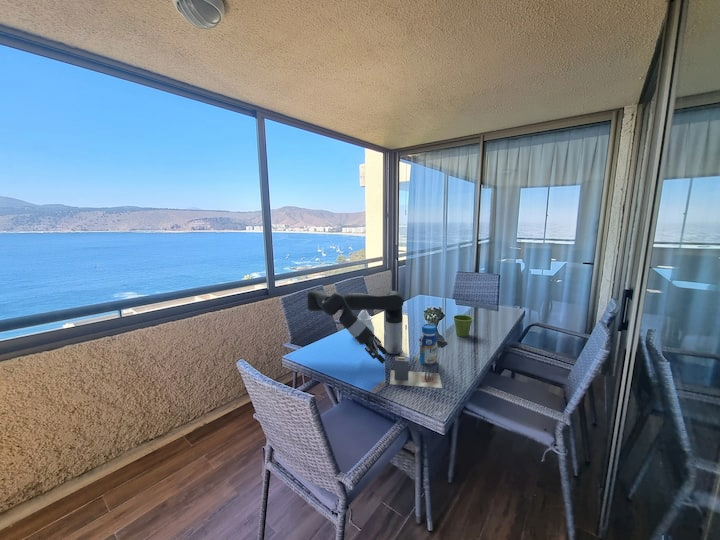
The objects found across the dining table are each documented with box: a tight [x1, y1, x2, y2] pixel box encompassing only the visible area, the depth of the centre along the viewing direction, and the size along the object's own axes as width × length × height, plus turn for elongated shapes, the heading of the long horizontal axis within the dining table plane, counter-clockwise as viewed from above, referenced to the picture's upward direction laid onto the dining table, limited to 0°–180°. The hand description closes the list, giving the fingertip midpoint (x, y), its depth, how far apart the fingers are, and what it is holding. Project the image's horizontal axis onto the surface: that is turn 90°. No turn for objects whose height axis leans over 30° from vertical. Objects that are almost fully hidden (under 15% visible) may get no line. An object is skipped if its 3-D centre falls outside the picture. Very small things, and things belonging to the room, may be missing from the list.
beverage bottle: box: [419, 323, 438, 366], centre depth 142 cm, size 8×8×20 cm
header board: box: [389, 369, 443, 389], centre depth 128 cm, size 22×12×4 cm, turn 82°
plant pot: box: [452, 314, 474, 338], centre depth 180 cm, size 12×12×11 cm
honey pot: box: [356, 310, 375, 335], centre depth 180 cm, size 13×13×18 cm
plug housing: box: [394, 356, 410, 380], centre depth 128 cm, size 6×4×10 cm, turn 82°
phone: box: [418, 338, 448, 348], centre depth 171 cm, size 8×1×15 cm
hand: (384, 357), depth 128 cm, fingers open, 8 cm apart
